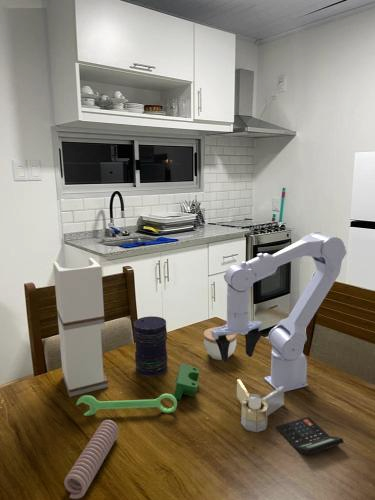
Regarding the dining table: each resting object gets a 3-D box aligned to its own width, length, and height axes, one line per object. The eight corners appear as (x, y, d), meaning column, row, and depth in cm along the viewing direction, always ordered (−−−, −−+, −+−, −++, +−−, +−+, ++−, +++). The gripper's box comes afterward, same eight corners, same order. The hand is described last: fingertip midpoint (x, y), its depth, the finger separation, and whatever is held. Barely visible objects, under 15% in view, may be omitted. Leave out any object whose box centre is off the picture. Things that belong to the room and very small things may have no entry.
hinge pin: (255, 418, 94) (256, 392, 92) (263, 425, 91) (263, 399, 90) (245, 421, 93) (245, 395, 91) (252, 429, 90) (253, 402, 88)
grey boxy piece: (108, 386, 108) (101, 266, 101) (69, 396, 104) (59, 271, 96) (98, 368, 118) (91, 257, 111) (62, 376, 114) (53, 262, 106)
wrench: (76, 418, 95) (74, 399, 94) (77, 413, 97) (76, 394, 96) (177, 414, 96) (177, 395, 95) (177, 409, 98) (176, 390, 97)
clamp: (190, 411, 103) (197, 393, 99) (170, 406, 103) (176, 388, 99) (196, 377, 112) (202, 359, 108) (177, 372, 113) (183, 354, 108)
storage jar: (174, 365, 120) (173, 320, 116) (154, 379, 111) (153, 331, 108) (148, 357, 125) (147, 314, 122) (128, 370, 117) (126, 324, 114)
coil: (100, 417, 88) (59, 478, 71) (119, 418, 87) (82, 479, 70) (103, 435, 89) (63, 499, 72) (122, 436, 88) (86, 501, 71)
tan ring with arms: (266, 389, 106) (267, 372, 105) (299, 419, 93) (300, 400, 92) (221, 400, 101) (221, 383, 100) (250, 434, 88) (250, 414, 87)
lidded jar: (238, 363, 120) (238, 335, 118) (204, 363, 120) (204, 335, 119) (234, 348, 131) (235, 322, 129) (203, 348, 131) (203, 322, 129)
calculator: (308, 419, 94) (308, 408, 93) (343, 451, 83) (344, 439, 82) (275, 429, 90) (276, 418, 90) (307, 464, 80) (308, 451, 79)
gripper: (220, 320, 95) (220, 370, 98) (269, 311, 101) (267, 359, 103) (207, 311, 101) (208, 358, 104) (254, 303, 107) (253, 348, 110)
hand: (236, 358), depth 104 cm, fingers open, 7 cm apart
